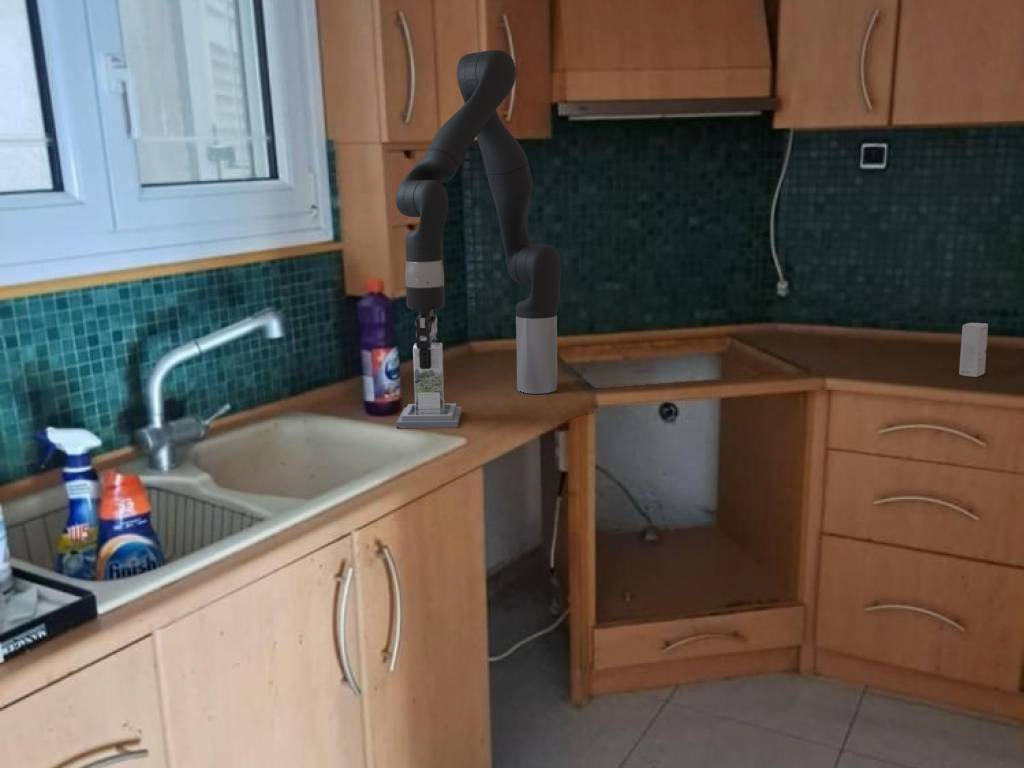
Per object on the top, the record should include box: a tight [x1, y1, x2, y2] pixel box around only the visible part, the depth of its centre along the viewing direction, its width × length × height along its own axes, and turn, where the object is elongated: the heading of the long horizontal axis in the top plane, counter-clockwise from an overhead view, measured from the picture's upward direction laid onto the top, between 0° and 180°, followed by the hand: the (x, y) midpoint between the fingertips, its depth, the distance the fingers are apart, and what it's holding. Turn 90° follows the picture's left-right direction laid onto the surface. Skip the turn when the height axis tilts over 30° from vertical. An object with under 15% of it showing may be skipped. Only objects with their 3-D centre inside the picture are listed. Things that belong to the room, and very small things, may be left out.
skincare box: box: [958, 322, 989, 378], centre depth 222 cm, size 6×4×12 cm
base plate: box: [395, 402, 463, 429], centre depth 190 cm, size 12×12×2 cm
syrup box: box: [412, 342, 445, 415], centre depth 188 cm, size 6×6×14 cm
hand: (428, 364), depth 188 cm, fingers open, 8 cm apart
